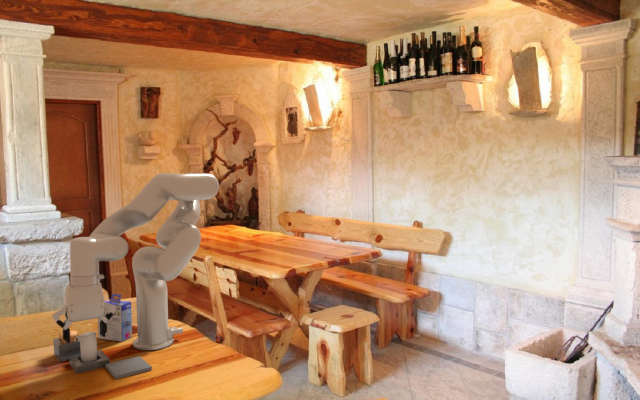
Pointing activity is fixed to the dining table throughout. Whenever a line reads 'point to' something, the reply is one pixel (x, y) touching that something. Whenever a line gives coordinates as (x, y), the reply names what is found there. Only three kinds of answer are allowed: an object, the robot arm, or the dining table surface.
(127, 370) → the mat
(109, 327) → the ink cartridge box
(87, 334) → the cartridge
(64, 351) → the housing
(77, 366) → the collar
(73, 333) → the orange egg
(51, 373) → the dining table surface
